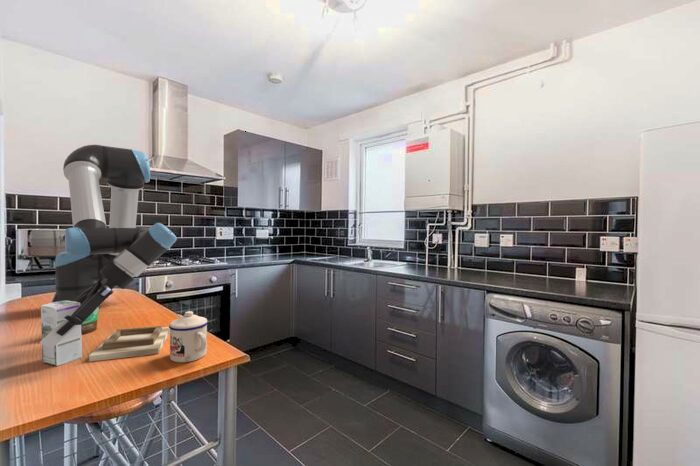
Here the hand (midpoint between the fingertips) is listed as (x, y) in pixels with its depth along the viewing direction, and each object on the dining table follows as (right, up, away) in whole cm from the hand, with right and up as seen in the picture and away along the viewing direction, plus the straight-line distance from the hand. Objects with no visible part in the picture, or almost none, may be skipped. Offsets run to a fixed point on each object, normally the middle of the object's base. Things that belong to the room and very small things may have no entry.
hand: (47, 337), depth 78 cm
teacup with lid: (+33, -7, +5) cm, 34 cm away
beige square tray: (+13, -6, +13) cm, 19 cm away
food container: (-9, -6, +21) cm, 24 cm away
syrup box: (+2, -6, +2) cm, 7 cm away
